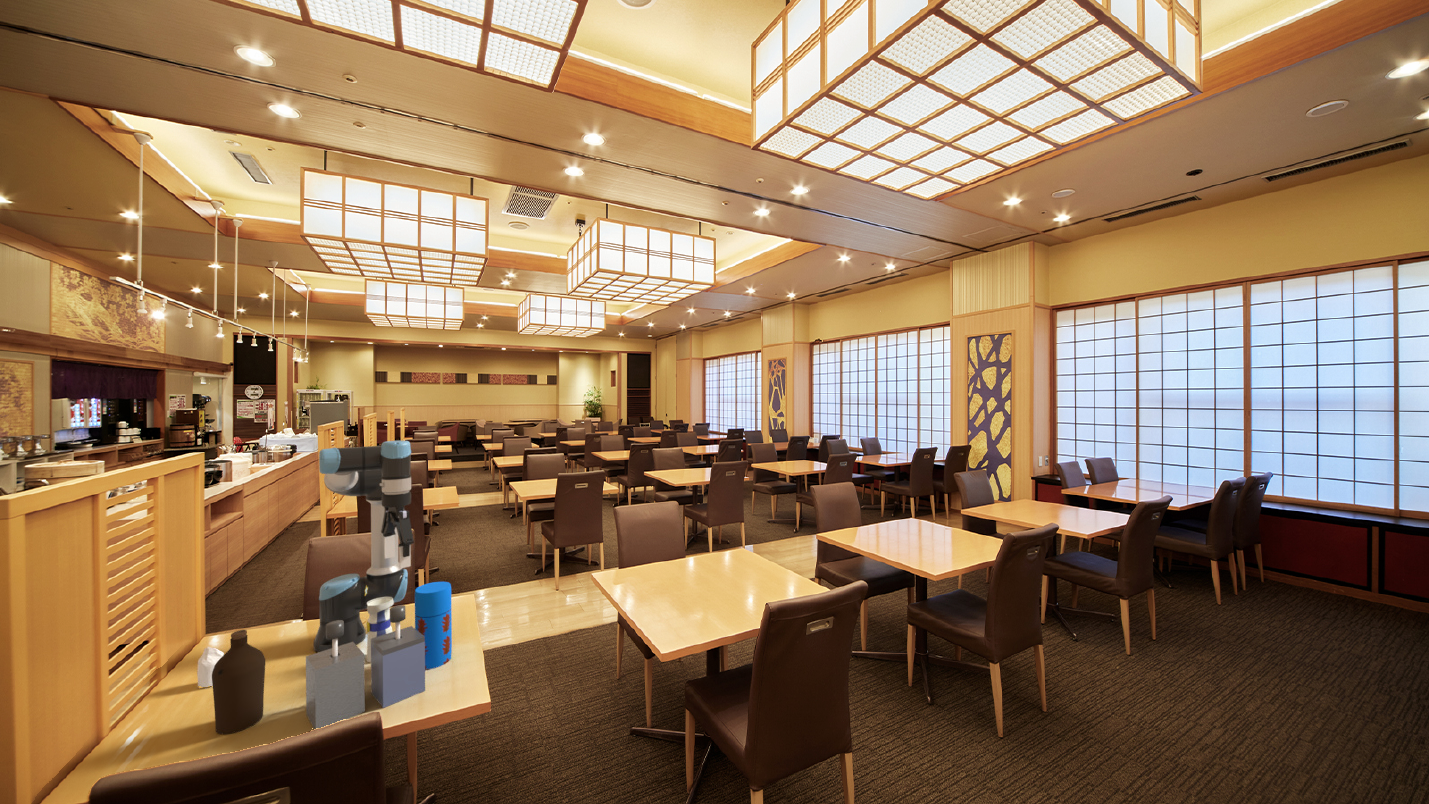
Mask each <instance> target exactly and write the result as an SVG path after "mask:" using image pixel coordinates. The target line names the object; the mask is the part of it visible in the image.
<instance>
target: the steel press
mask: <svg viewBox="0 0 1429 804" xmlns="http://www.w3.org/2000/svg"><path fill="white" fill-rule="evenodd" d="M305 695H306V696H305V698H306V699H305V706H306V707H305V708H306V710H305V711H306V712H305V713H306V714H305V715H306V717H307V719H308V721H309V723H310V724H311V726H312V728H313V730H314V729H316V728H321V727H324V726H326V725H330V724H332V723H335V722H337V721H340V720H343V719H346V720H348V719H350V718H354V717H355V716H358V715H361V714H363V713H365V710H366V709H365V708H366V707H365V706H366V703H365V698H366V697H365V695H366V694H365V652H363V651H362V650H361V649H360V648H359V646H357V645H355V643H354V642H350V643H347V644H344V645H341V646H338V656H336V657H333V658H332V648H331V649H328V650H325V651H322V652H317V653H316V652H315V653H313V654H310V655H309V654H308V655H306V656H305Z"/></svg>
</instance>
